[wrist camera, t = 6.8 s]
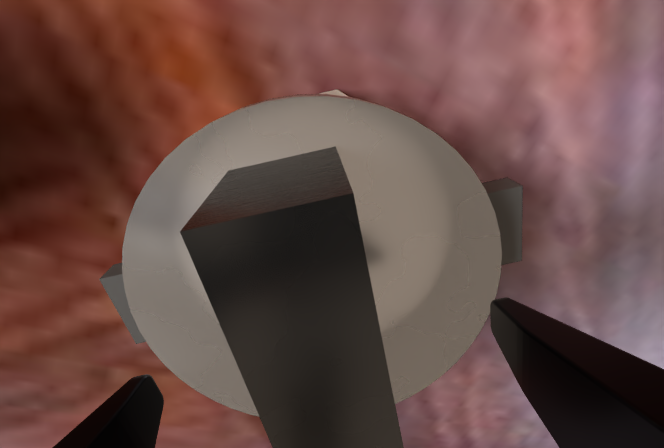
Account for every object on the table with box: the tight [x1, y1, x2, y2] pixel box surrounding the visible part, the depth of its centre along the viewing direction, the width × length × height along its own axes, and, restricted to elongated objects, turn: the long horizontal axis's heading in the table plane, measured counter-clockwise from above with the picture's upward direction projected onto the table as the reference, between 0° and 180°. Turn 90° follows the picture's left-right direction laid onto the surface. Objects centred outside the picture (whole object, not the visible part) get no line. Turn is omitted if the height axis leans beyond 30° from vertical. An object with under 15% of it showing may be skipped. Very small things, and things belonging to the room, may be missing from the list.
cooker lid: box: [122, 94, 502, 448], centre depth 10 cm, size 12×12×5 cm
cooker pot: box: [100, 90, 523, 344], centre depth 15 cm, size 11×15×6 cm
